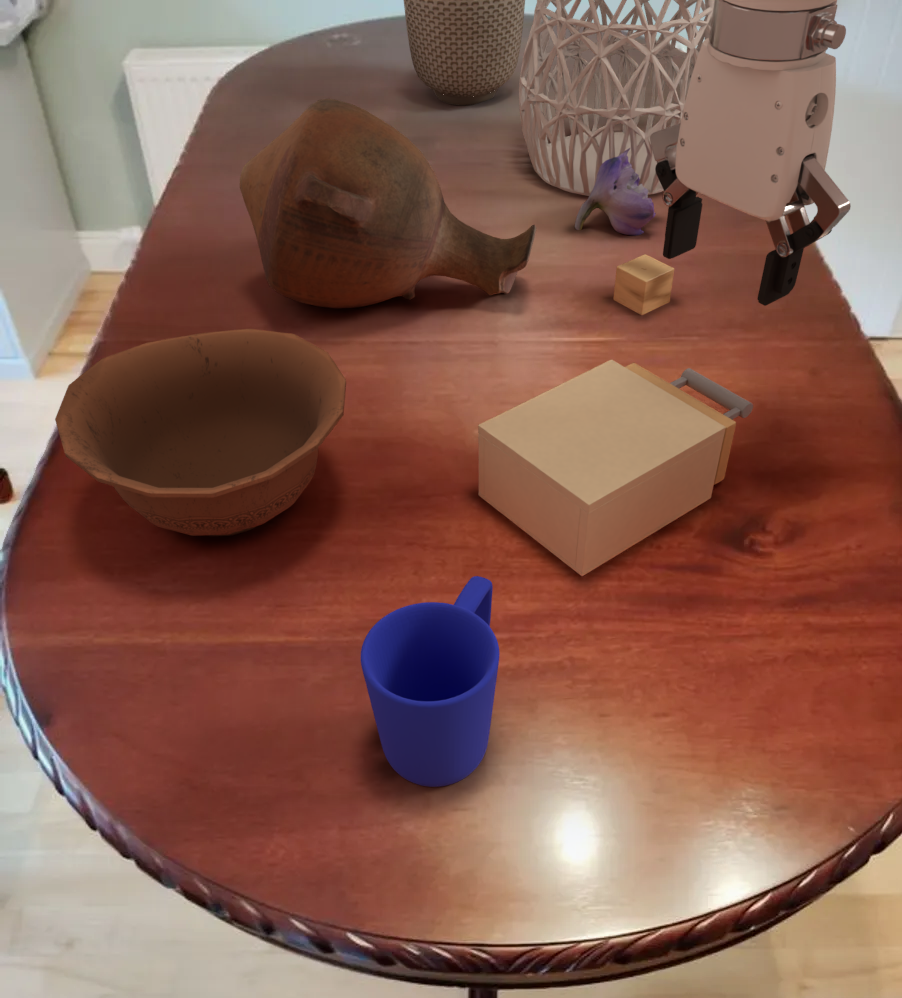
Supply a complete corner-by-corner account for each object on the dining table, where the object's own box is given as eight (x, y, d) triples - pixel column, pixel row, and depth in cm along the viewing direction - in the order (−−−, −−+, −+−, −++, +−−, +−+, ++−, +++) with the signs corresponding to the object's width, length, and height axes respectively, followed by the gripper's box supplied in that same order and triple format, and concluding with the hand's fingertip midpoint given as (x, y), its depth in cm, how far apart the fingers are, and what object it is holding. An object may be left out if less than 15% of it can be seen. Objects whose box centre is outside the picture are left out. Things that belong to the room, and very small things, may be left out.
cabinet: (603, 432, 90) (611, 358, 84) (710, 502, 83) (726, 426, 77) (478, 499, 84) (477, 424, 78) (581, 580, 77) (588, 504, 71)
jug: (221, 325, 104) (500, 388, 104) (201, 159, 88) (533, 234, 87) (276, 204, 115) (530, 261, 115) (268, 35, 98) (565, 101, 98)
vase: (521, 130, 139) (528, -134, 118) (698, 132, 137) (737, -136, 115) (512, 207, 122) (518, -84, 101) (713, 211, 120) (762, -86, 99)
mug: (537, 684, 70) (543, 582, 63) (466, 821, 62) (464, 724, 55) (431, 649, 72) (426, 547, 65) (351, 777, 65) (334, 677, 58)
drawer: (667, 396, 92) (675, 340, 88) (765, 454, 86) (779, 397, 81) (513, 478, 84) (514, 421, 80) (608, 549, 78) (614, 491, 74)
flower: (573, 194, 109) (646, 137, 109) (549, 196, 117) (618, 142, 117) (616, 266, 113) (687, 211, 112) (590, 263, 121) (656, 211, 120)
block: (640, 290, 107) (645, 253, 104) (669, 305, 105) (674, 268, 102) (612, 303, 106) (616, 266, 103) (641, 319, 103) (645, 281, 100)
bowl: (154, 418, 93) (124, 312, 85) (384, 438, 90) (375, 330, 82) (49, 583, 78) (0, 472, 70) (321, 614, 75) (302, 502, 67)
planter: (384, 101, 148) (375, -22, 137) (454, 67, 157) (452, -51, 146) (478, 126, 140) (477, -3, 129) (545, 89, 150) (551, -34, 138)
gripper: (922, 46, 61) (849, 302, 74) (707, -13, 71) (674, 222, 83) (847, 75, 58) (784, 337, 70) (632, 9, 68) (609, 250, 80)
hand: (724, 274), depth 77 cm, fingers open, 9 cm apart
